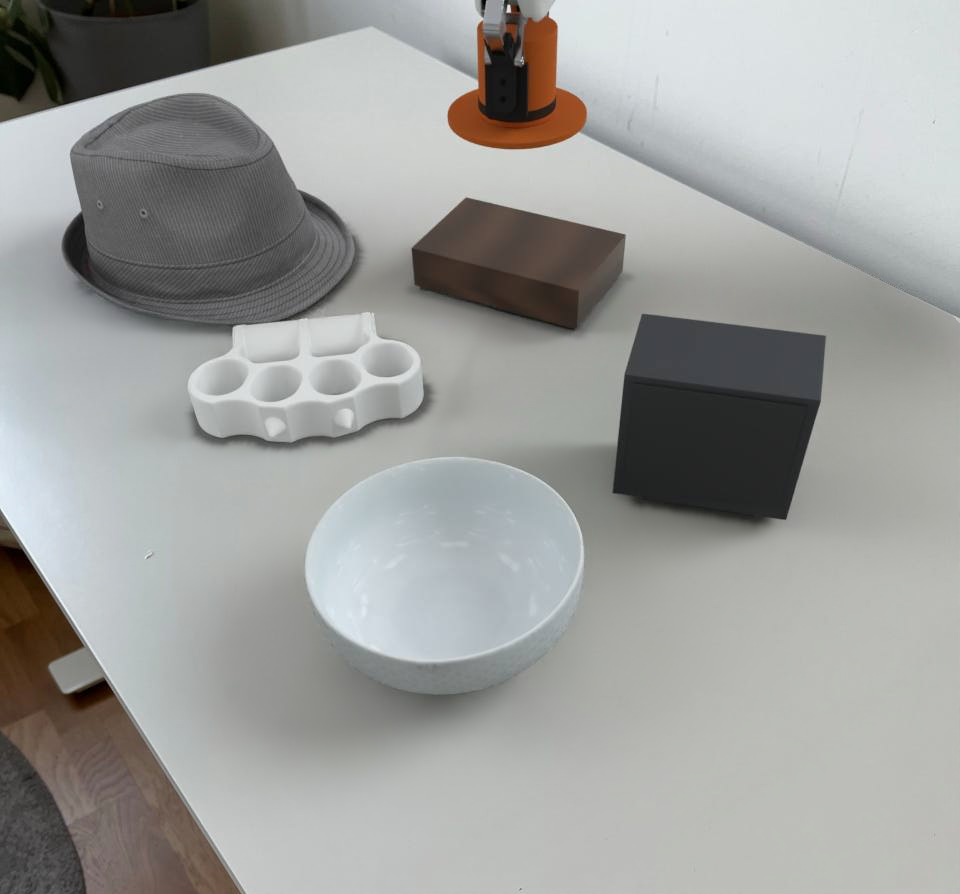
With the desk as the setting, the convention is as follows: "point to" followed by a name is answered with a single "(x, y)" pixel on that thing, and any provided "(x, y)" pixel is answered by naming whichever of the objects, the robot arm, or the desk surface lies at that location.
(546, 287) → the brown wooden block
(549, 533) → the cereal bowl
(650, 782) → the desk surface
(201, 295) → the fedora
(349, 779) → the desk surface
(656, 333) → the dark grey cabinet box
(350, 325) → the white brass knuckles
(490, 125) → the top hat
